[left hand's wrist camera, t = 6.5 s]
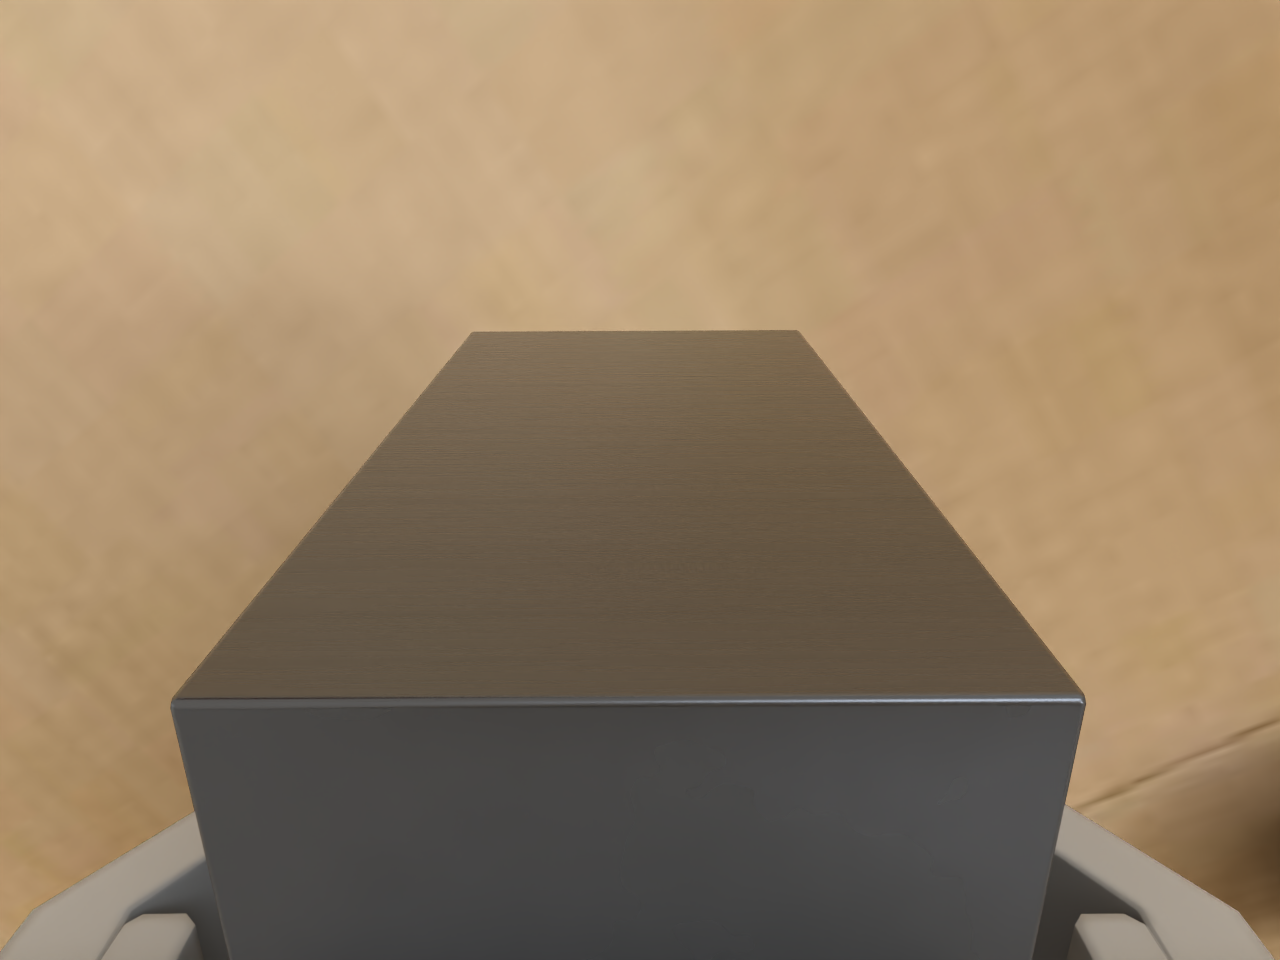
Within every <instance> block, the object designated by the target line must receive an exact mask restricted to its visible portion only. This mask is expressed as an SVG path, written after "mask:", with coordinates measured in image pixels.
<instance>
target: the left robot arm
mask: <svg viewBox="0 0 1280 960" xmlns="http://www.w3.org/2000/svg"><path fill="white" fill-rule="evenodd" d="M0 960H229V956H228V951H227V947H226V943H225V938H224V934H223V930H222V926H221V921H220V917H219V913H218V909H217V904H216V900H215V896H214V892H213V887H212V883H211V879H210V874H209V870H208V866H207V862H206V857H205V853H204V849H203V845H202V840H201V836H200V832H199V828H198V823H197V819H196V815H195V811H194V812H192V813H191V814H189V815H187V816H186V817H184V818H182V819H181V820H179V821H177V822H176V823H174V824H173V825H171V826H169V827H168V828H166V829H164V830H163V831H161V832H159V833H158V834H156V835H154V836H153V837H151V838H150V839H148V840H146V841H145V842H143V843H141V844H140V845H138V846H136V847H135V848H133V849H132V850H130V851H128V852H127V853H125V854H123V855H122V856H120V857H118V858H117V859H115V860H114V861H112V862H110V863H109V864H107V865H105V866H104V867H102V868H100V869H99V870H97V871H96V872H94V873H92V874H91V875H89V876H87V877H86V878H84V879H82V880H81V881H79V882H77V883H76V884H74V885H73V886H71V887H69V888H68V889H66V890H64V891H63V892H61V893H59V894H58V895H56V896H55V897H53V898H51V899H50V900H48V901H46V902H45V903H43V904H41V905H40V906H38V907H37V908H35V909H33V910H32V911H31V913H30V914H29V915H28V916H27V918H26V919H25V920H24V922H23V923H22V924H21V926H20V927H19V928H18V929H17V931H16V932H15V933H14V935H13V936H12V937H11V938H10V940H9V941H8V942H7V944H6V945H5V946H4V947H3V949H2V950H1V951H0ZM1032 960H1275V959H1274V958H1273V956H1272V955H1271V954H1270V952H1269V951H1268V950H1267V948H1266V947H1265V946H1264V944H1263V943H1262V942H1261V940H1260V939H1259V938H1258V936H1257V935H1256V934H1255V932H1254V931H1253V930H1252V928H1251V927H1250V926H1249V925H1248V923H1247V922H1246V921H1245V919H1244V918H1243V917H1242V915H1241V914H1240V913H1239V911H1237V910H1236V909H1234V908H1232V907H1231V906H1229V905H1227V904H1226V903H1224V902H1223V901H1221V900H1219V899H1218V898H1216V897H1215V896H1213V895H1211V894H1210V893H1208V892H1206V891H1205V890H1203V889H1202V888H1200V887H1198V886H1197V885H1195V884H1194V883H1192V882H1190V881H1189V880H1187V879H1185V878H1184V877H1182V876H1181V875H1179V874H1177V873H1176V872H1174V871H1172V870H1171V869H1169V868H1168V867H1166V866H1164V865H1163V864H1161V863H1160V862H1158V861H1156V860H1155V859H1153V858H1151V857H1150V856H1148V855H1147V854H1145V853H1143V852H1142V851H1140V850H1138V849H1137V848H1135V847H1134V846H1132V845H1130V844H1129V843H1127V842H1126V841H1124V840H1122V839H1121V838H1119V837H1117V836H1116V835H1114V834H1113V833H1111V832H1109V831H1108V830H1106V829H1105V828H1103V827H1101V826H1100V825H1098V824H1096V823H1095V822H1093V821H1092V820H1090V819H1088V818H1087V817H1085V816H1083V815H1082V814H1080V813H1079V812H1077V811H1075V810H1074V809H1072V808H1071V807H1069V806H1067V805H1066V804H1065V805H1064V810H1063V815H1062V820H1061V824H1060V829H1059V834H1058V839H1057V843H1056V848H1055V853H1054V858H1053V862H1052V867H1051V872H1050V876H1049V881H1048V886H1047V891H1046V895H1045V900H1044V905H1043V910H1042V914H1041V919H1040V924H1039V929H1038V933H1037V938H1036V943H1035V948H1034V952H1033V957H1032Z"/></svg>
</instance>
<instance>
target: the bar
mask: <svg viewBox="0 0 1280 960" xmlns="http://www.w3.org/2000/svg"><path fill="white" fill-rule="evenodd" d="M1085 706H1086V700H1085V696H1084V693H1083V692H1082V691H1081V690H1080V688H1079V687H1078V686H1077V685H1076V683H1075V682H1074V681H1073V679H1072V678H1071V677H1070V676H1069V674H1068V673H1067V672H1066V671H1065V669H1064V668H1063V667H1062V665H1061V664H1060V663H1059V662H1058V660H1057V659H1056V658H1055V657H1054V655H1053V654H1052V653H1051V651H1050V650H1049V649H1048V648H1047V646H1046V645H1045V644H1044V643H1043V641H1042V640H1041V639H1040V637H1039V636H1038V635H1037V634H1036V632H1035V631H1034V630H1033V629H1032V627H1031V626H1030V625H1029V623H1028V622H1027V621H1026V620H1025V618H1024V617H1023V616H1022V615H1021V613H1020V612H1019V611H1018V609H1017V608H1016V607H1015V606H1014V604H1013V603H1012V602H1011V601H1010V599H1009V598H1008V597H1007V595H1006V594H1005V593H1004V592H1003V590H1002V589H1001V588H1000V587H999V585H998V584H997V583H996V581H995V580H994V579H993V578H992V576H991V575H990V574H989V573H988V571H987V570H986V569H985V567H984V566H983V565H982V564H981V562H980V561H979V560H978V559H977V557H976V556H975V555H974V553H973V552H972V551H971V550H970V548H969V547H968V546H967V545H966V543H965V542H964V541H963V539H962V538H961V537H960V536H959V534H958V533H957V532H956V531H955V529H954V528H953V527H952V525H951V524H950V523H949V522H948V520H947V519H946V518H945V517H944V515H943V514H942V513H941V511H940V510H939V509H938V508H937V506H936V505H935V504H934V503H933V501H932V500H931V499H930V497H929V496H928V495H927V494H926V492H925V491H924V490H923V489H922V487H921V486H920V485H919V483H918V482H917V481H916V480H915V478H914V477H913V476H912V475H911V473H910V472H909V471H908V469H907V468H906V467H905V466H904V464H903V463H902V462H901V461H900V459H899V458H898V457H897V455H896V454H895V453H894V452H893V450H892V449H891V448H890V447H889V445H888V444H887V443H886V441H885V440H884V439H883V438H882V436H881V435H880V434H879V433H878V431H877V430H876V429H875V427H874V426H873V425H872V424H871V422H870V421H869V420H868V419H867V417H866V416H865V415H864V413H863V412H862V411H861V410H860V408H859V407H858V406H857V405H856V403H855V402H854V401H853V399H852V398H851V397H850V396H849V394H848V393H847V392H846V391H845V389H844V388H843V387H842V385H841V384H840V383H839V382H838V380H837V379H836V378H835V377H834V375H833V374H832V373H831V371H830V370H829V369H828V368H827V366H826V365H825V364H824V363H823V361H822V360H821V359H820V357H819V356H818V355H817V354H816V352H815V351H814V350H813V349H812V347H811V346H810V345H809V343H808V342H807V341H806V340H805V338H804V337H803V336H802V335H801V333H800V332H799V331H797V330H759V331H555V332H473V333H471V334H470V335H469V337H468V338H467V339H466V340H465V341H464V343H463V344H462V345H461V346H460V348H459V349H458V350H457V351H456V352H455V354H454V355H453V356H452V357H451V359H450V360H449V361H448V362H447V363H446V365H445V366H444V367H443V368H442V370H441V371H440V372H439V373H438V374H437V376H436V377H435V378H434V379H433V381H432V382H431V383H430V384H429V385H428V387H427V388H426V389H425V390H424V392H423V393H422V394H421V395H420V396H419V398H418V399H417V400H416V401H415V403H414V404H413V405H412V406H411V407H410V409H409V410H408V411H407V412H406V414H405V415H404V416H403V417H402V418H401V420H400V421H399V422H398V423H397V425H396V426H395V427H394V428H393V429H392V431H391V432H390V433H389V434H388V436H387V437H386V438H385V439H384V440H383V442H382V443H381V444H380V445H379V447H378V448H377V449H376V450H375V451H374V453H373V454H372V455H371V456H370V457H369V459H368V460H367V461H366V462H365V464H364V465H363V466H362V467H361V468H360V470H359V471H358V472H357V473H356V475H355V476H354V477H353V478H352V479H351V481H350V482H349V483H348V484H347V486H346V487H345V488H344V489H343V490H342V492H341V493H340V494H339V495H338V497H337V498H336V499H335V500H334V501H333V503H332V504H331V505H330V506H329V508H328V509H327V510H326V511H325V512H324V514H323V515H322V516H321V517H320V519H319V520H318V521H317V522H316V523H315V525H314V526H313V527H312V528H311V530H310V531H309V532H308V533H307V534H306V536H305V537H304V538H303V539H302V541H301V542H300V543H299V544H298V545H297V547H296V548H295V549H294V550H293V552H292V553H291V554H290V555H289V556H288V558H287V559H286V560H285V561H284V563H283V564H282V565H281V566H280V567H279V569H278V570H277V571H276V572H275V574H274V575H273V576H272V577H271V578H270V580H269V581H268V582H267V583H266V585H265V586H264V587H263V588H262V589H261V591H260V592H259V593H258V594H257V595H256V597H255V598H254V599H253V600H252V602H251V603H250V604H249V605H248V606H247V608H246V609H245V610H244V611H243V613H242V614H241V615H240V616H239V617H238V619H237V620H236V621H235V622H234V624H233V625H232V626H231V627H230V628H229V630H228V631H227V632H226V633H225V635H224V636H223V637H222V638H221V639H220V641H219V642H218V643H217V644H216V646H215V647H214V648H213V649H212V650H211V652H210V653H209V654H208V655H207V657H206V658H205V659H204V660H203V661H202V663H201V664H200V665H199V666H198V668H197V669H196V670H195V671H194V672H193V674H192V675H191V676H190V677H189V679H188V680H187V681H186V682H185V683H184V685H183V686H182V687H181V688H180V690H179V691H178V692H177V693H176V694H175V696H174V697H173V698H172V702H171V712H172V717H173V721H174V725H175V729H176V734H177V738H178V742H179V747H180V751H181V755H182V759H183V764H184V768H185V772H186V776H187V781H188V785H189V789H190V793H191V798H192V802H193V806H194V811H195V815H196V819H197V823H198V828H199V832H200V836H201V840H202V845H203V849H204V853H205V857H206V862H207V866H208V870H209V874H210V879H211V883H212V887H213V892H214V896H215V900H216V904H217V909H218V913H219V917H220V921H221V926H222V930H223V934H224V938H225V943H226V947H227V951H228V956H229V960H1032V957H1033V952H1034V948H1035V943H1036V938H1037V933H1038V929H1039V924H1040V919H1041V914H1042V910H1043V905H1044V900H1045V895H1046V891H1047V886H1048V881H1049V876H1050V872H1051V867H1052V862H1053V858H1054V853H1055V848H1056V843H1057V839H1058V834H1059V829H1060V824H1061V820H1062V815H1063V810H1064V805H1065V801H1066V796H1067V791H1068V786H1069V782H1070V777H1071V772H1072V768H1073V763H1074V758H1075V753H1076V749H1077V744H1078V739H1079V734H1080V730H1081V725H1082V720H1083V715H1084V711H1085Z"/></svg>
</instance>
